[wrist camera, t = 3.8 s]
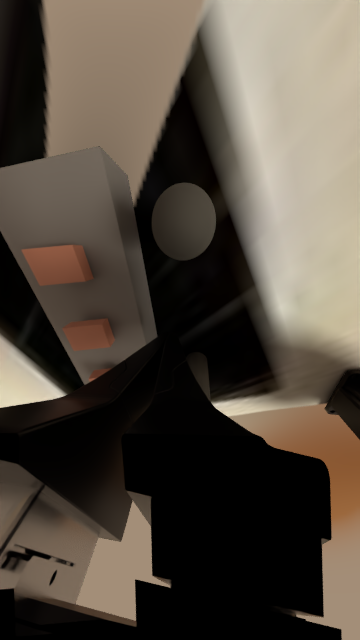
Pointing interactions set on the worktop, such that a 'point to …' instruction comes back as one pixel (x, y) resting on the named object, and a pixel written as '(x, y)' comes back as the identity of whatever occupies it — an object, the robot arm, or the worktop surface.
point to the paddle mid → (89, 334)
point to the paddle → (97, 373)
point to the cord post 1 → (183, 221)
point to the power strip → (98, 243)
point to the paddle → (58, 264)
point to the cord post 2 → (200, 370)
